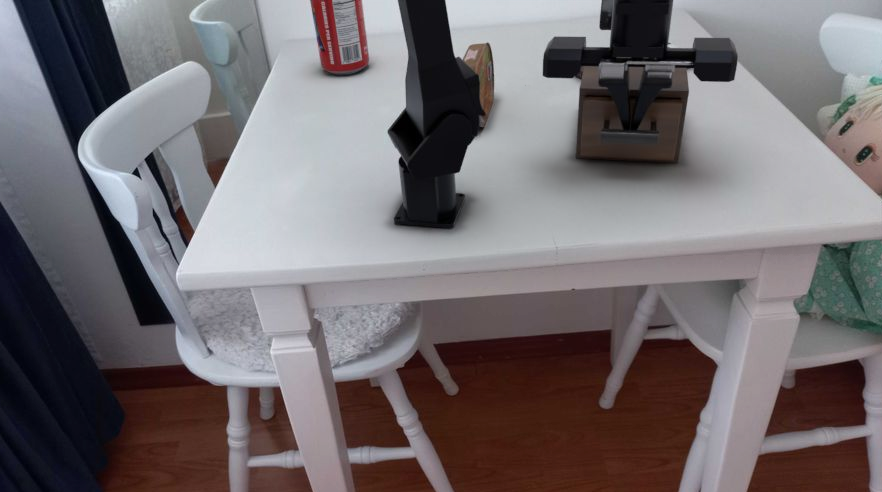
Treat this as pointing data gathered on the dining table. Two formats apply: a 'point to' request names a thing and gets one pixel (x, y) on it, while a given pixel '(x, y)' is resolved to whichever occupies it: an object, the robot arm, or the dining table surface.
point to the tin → (482, 74)
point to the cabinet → (591, 88)
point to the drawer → (644, 143)
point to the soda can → (340, 35)
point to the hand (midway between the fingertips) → (629, 136)
